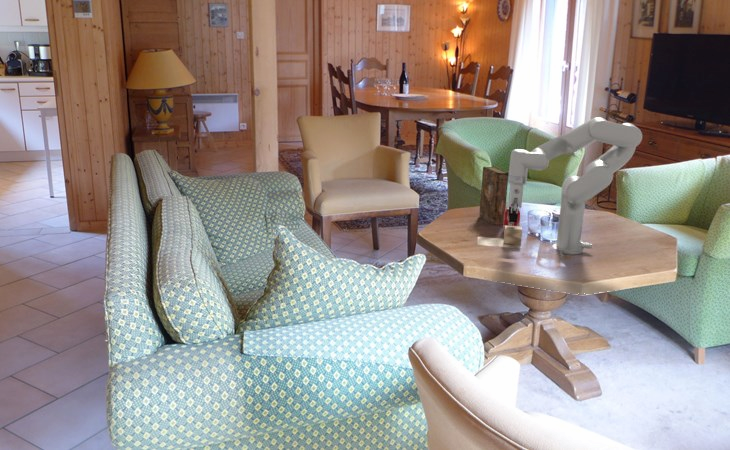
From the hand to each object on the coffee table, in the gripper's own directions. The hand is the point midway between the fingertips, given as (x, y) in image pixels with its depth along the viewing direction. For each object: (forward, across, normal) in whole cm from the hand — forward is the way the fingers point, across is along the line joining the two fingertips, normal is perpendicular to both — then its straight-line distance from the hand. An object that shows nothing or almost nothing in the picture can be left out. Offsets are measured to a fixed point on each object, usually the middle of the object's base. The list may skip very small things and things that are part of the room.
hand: (512, 219), depth 290 cm
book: (+12, +38, +7) cm, 41 cm away
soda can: (+12, +18, -1) cm, 22 cm away
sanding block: (+11, 0, -1) cm, 11 cm away
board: (+12, 0, +4) cm, 13 cm away
